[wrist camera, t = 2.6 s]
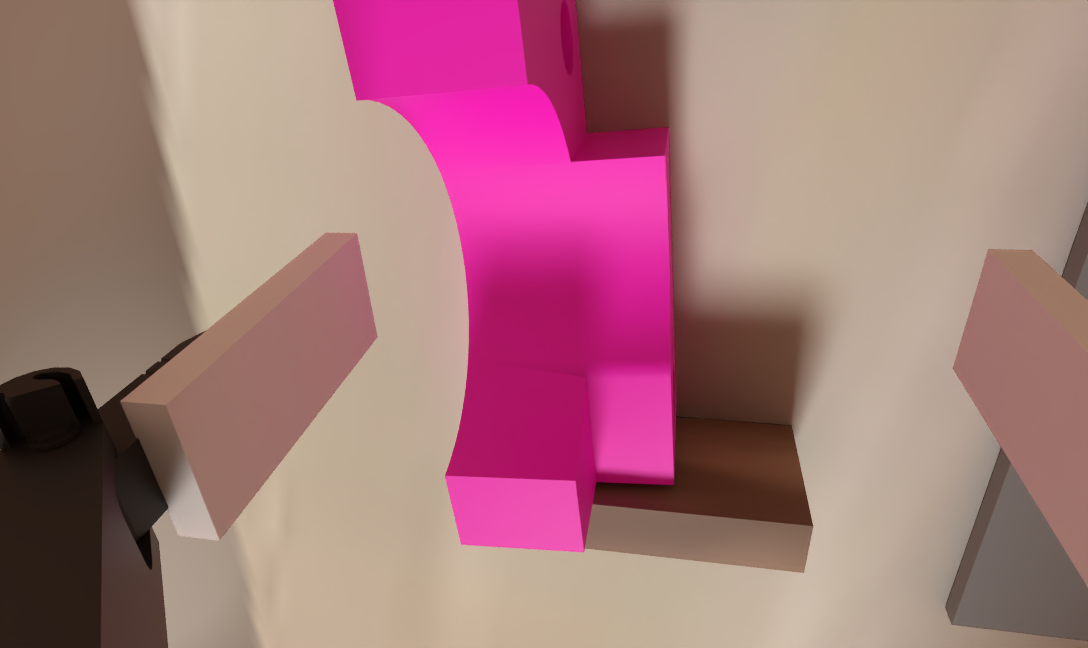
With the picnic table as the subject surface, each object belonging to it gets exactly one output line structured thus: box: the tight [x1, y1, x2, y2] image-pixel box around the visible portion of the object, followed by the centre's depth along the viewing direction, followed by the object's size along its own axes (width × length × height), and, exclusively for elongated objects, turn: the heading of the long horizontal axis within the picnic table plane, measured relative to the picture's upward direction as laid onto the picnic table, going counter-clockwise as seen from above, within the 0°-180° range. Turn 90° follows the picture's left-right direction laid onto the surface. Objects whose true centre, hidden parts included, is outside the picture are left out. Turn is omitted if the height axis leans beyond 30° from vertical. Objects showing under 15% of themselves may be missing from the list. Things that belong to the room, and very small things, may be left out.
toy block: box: [333, 0, 677, 552], centre depth 19 cm, size 15×6×8 cm, turn 7°
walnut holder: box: [585, 417, 813, 573], centre depth 19 cm, size 21×10×5 cm, turn 3°
